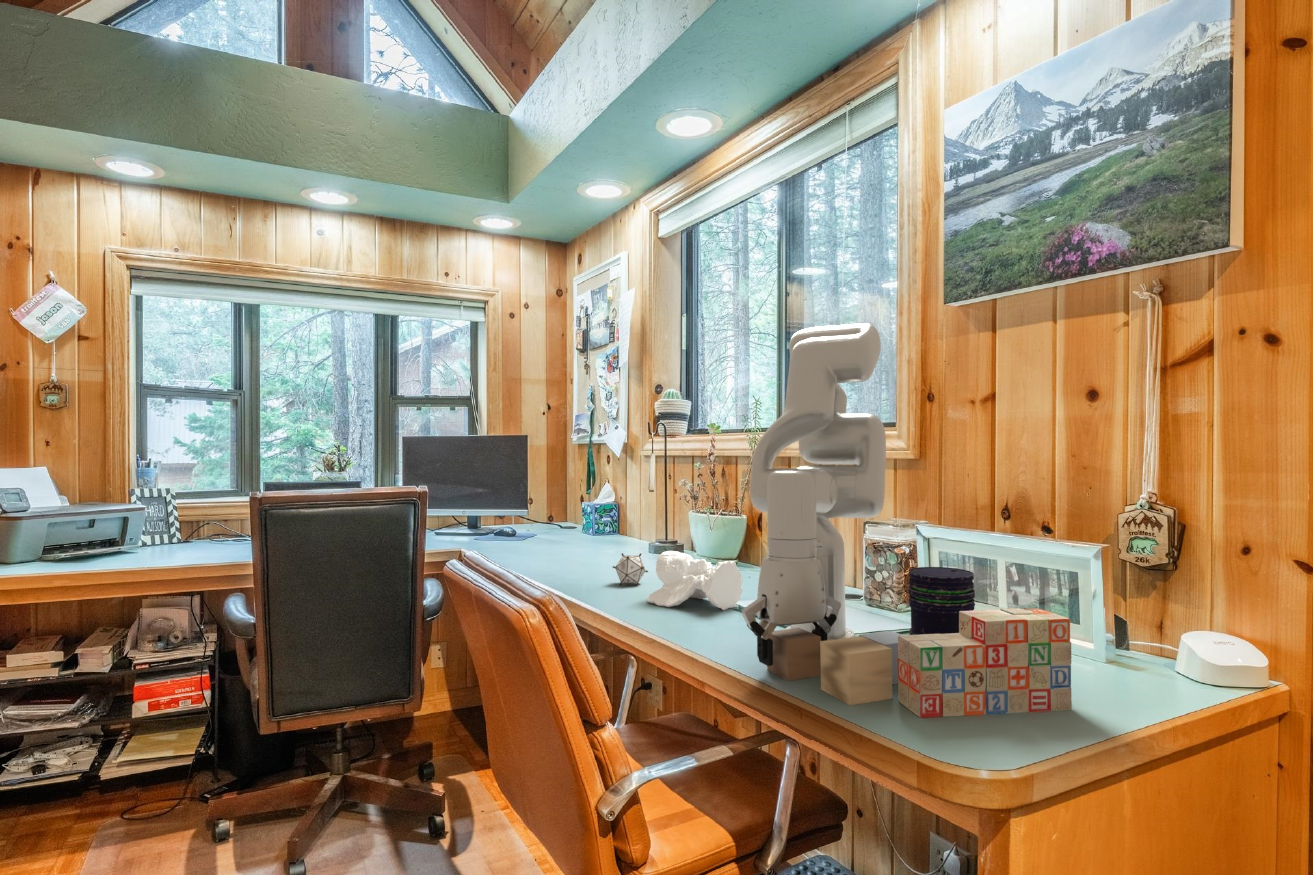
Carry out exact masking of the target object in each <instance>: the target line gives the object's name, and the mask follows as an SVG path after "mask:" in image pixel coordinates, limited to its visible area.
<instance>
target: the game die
mask: <svg viewBox="0 0 1313 875" xmlns="http://www.w3.org/2000/svg"><path fill="white" fill-rule="evenodd" d="M620 555H621V558H620V560H619V561H618V562H617V564H616V565H612V569H615V570H616V574H617V576H618V579H619V581H620V582H619V586H622V584H637V586H639V587H640V580H641V579H642V577H643V576H644V574H645V573H649V571H648V570H647V569H646V568H645V566H644V563H643V561H642V559H641V556H642V553H639V554H638V555H625V554H624V553H623V552H622V553H621V554H620Z"/></svg>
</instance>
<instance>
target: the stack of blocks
mask: <svg viewBox="0 0 1313 875" xmlns="http://www.w3.org/2000/svg"><path fill="white" fill-rule="evenodd" d="M898 657H899V658H898V683H897V688H898V702H899V704H901V705H903V706H904V707H905V708H907V709H908V711H910V712H912V713H913V714H914V715H916V716H917V717H918V718H923V719H924V718H937V717H944V718H945V717H947V718H948V717H960V716H961V717H962V716H965V717H966V716H985V715H998V714H1014V713H1032V712H1036V713H1037V712H1051V711H1052V712H1054V711H1055V712H1056V711H1070V710H1071V711H1072V709H1073V708H1072V707H1073V706H1072V702H1073V701H1072V642H1071V619H1070V618H1069V617H1066V616H1062V615H1060V614H1058V613H1054V612H1051V611H1048V610H1045V609H1042V608H1031V609H1030V608H1024V609H1022V608H1020V607H1017V608H1013V607H1011V608H1000V609H983V610H973V611H959V633H950V634H921V635H909V634H901V635H899V636H898Z"/></svg>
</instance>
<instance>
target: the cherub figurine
mask: <svg viewBox="0 0 1313 875" xmlns="http://www.w3.org/2000/svg"><path fill="white" fill-rule="evenodd" d="M655 572H656V576H657V577H658V579H659V581H661V583H662V584H663V585H662V587H661V588H659V589H657V590H655V591H653V592H652V593H650V594H649V595H648V596H647V597H646V598H647V602H648V603H650V604H655V605H657V606H658V607H667V608H673V607H675V606H676V607H677V606H679V605H682V603H683V602H685V601H686V600H688V599H689V598H691V599H697V600H704V599H705V600H706V599H707V600H708V601H709V602H710V603H711V605H714V607H716V608H717V609H721V610H722V611H727V610H729V608H730V609H733V608H735V606H736V605H737V603H738V602H739V601H740V600H741V596H742V593H743V588H742V585H743V580H744V579H743V576H742V573H741V570H740V569H739V568H738V566H737V564H736V561H734V560H723V561H718V562H717V563H716V564H715V566H714V565H713V566H712V563H711V562H710V561H706V559H704V558H702V559H694V558H693V556H692V555H690V554H687V553H684V552H680V551H677V550H675V551H674V550H666V551H663V552H661V553H660V554H659V555H658V557H657V559H656V562H655Z"/></svg>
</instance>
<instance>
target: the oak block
mask: <svg viewBox="0 0 1313 875" xmlns="http://www.w3.org/2000/svg"><path fill="white" fill-rule="evenodd" d="M820 658H821V676H820V690H822V691H824V692H825V693H828V695H830V696H832V697H835V698H836V699H838V700H840V701H841V702H843V703H845V704H847V705H848V706H854V705H861V704H867V703H872V702H873V703H874V702H880V701H884V700H891V699H893V684H892V648H889V647H886V646H884V645H881V644H879V643H876V642H874V641H871V640H869V639H866V638H864V637H861V636H859V635H858V636H855V637H850V638H842V639H834V640H826V641H820Z"/></svg>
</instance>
